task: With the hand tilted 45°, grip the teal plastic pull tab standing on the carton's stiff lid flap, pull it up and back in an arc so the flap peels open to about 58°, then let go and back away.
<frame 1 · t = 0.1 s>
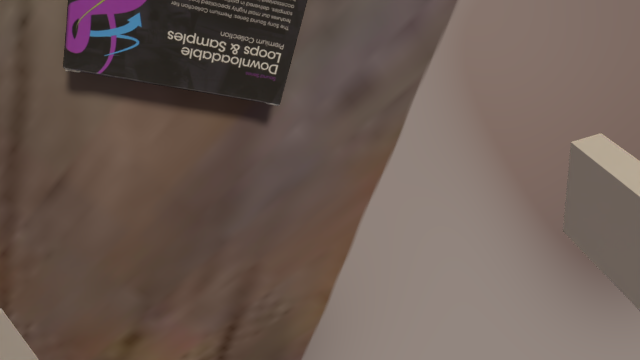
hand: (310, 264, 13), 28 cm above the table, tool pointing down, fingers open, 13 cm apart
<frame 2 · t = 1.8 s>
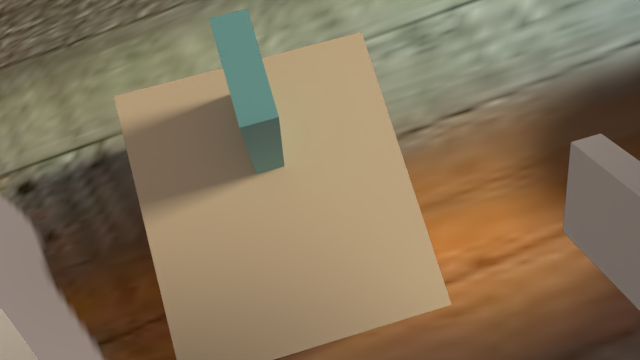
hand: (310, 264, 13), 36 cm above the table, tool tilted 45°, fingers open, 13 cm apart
flap: (275, 183, 33), point 16 cm above the table, hinge at 0.0°
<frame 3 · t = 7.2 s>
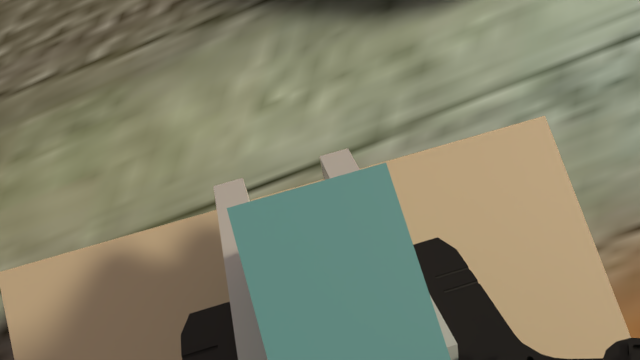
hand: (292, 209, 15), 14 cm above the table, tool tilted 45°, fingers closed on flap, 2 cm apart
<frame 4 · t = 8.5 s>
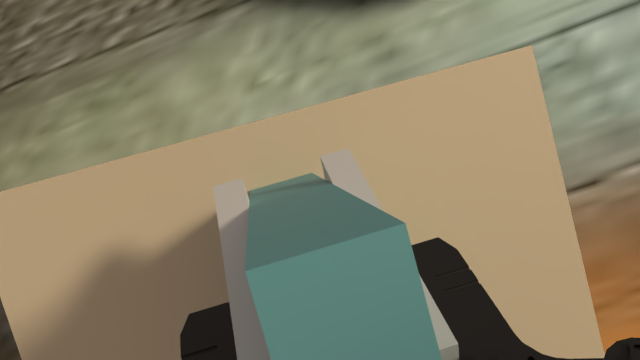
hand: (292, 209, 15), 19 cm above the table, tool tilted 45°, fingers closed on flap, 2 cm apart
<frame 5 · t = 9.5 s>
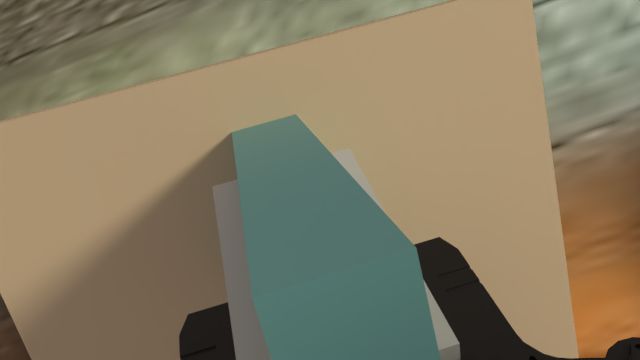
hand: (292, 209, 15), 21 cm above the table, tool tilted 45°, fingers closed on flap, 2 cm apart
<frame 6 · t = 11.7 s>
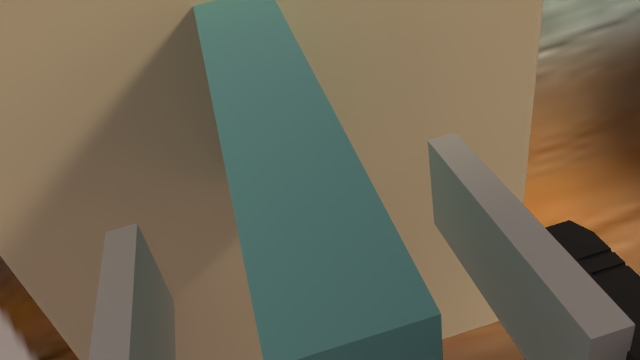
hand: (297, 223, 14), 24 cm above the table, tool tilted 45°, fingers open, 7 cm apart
flap: (325, 333, 16), point 22 cm above the table, hinge at 49.6°
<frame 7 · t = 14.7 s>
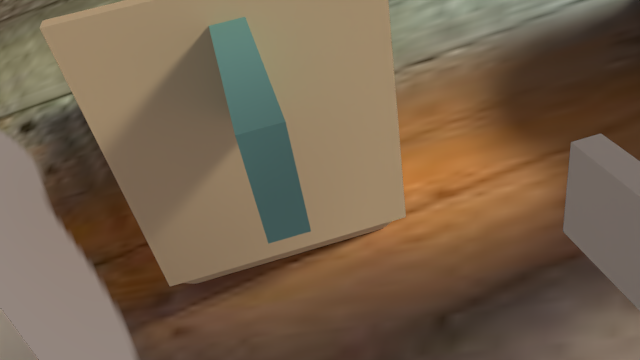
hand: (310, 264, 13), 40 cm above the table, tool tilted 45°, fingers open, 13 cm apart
carton: (261, 155, 54), on the table
flap: (274, 190, 31), point 22 cm above the table, hinge at 49.6°
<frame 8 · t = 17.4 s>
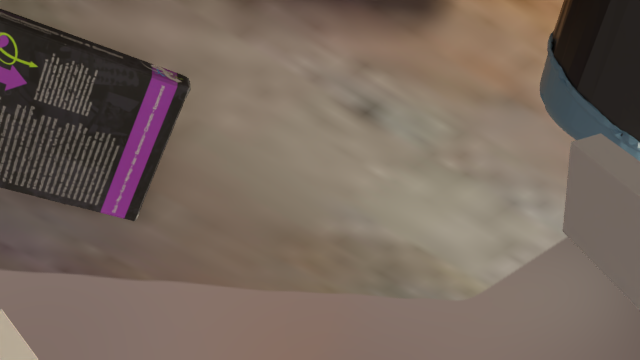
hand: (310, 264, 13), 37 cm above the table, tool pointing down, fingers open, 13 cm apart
box: (48, 104, 47), on the table
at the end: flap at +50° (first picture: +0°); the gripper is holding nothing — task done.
